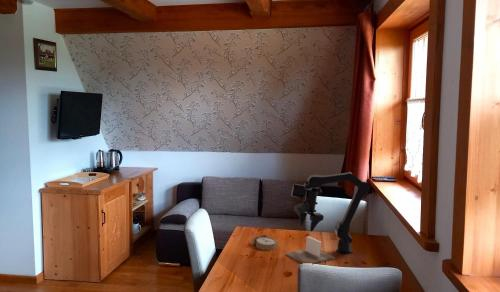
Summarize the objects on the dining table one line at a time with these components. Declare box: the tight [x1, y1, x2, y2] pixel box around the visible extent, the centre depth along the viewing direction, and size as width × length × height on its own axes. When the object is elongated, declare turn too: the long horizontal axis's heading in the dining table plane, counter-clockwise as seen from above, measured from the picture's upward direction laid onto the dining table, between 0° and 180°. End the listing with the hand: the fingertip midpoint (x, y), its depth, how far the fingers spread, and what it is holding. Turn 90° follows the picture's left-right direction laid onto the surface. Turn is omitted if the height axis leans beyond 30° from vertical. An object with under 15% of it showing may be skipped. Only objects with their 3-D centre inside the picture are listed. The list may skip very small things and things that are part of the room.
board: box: [285, 248, 335, 265], centre depth 195 cm, size 18×16×1 cm
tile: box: [305, 235, 323, 256], centre depth 196 cm, size 7×10×1 cm
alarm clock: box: [251, 234, 279, 251], centre depth 210 cm, size 11×5×15 cm
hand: (306, 228), depth 203 cm, fingers open, 9 cm apart
